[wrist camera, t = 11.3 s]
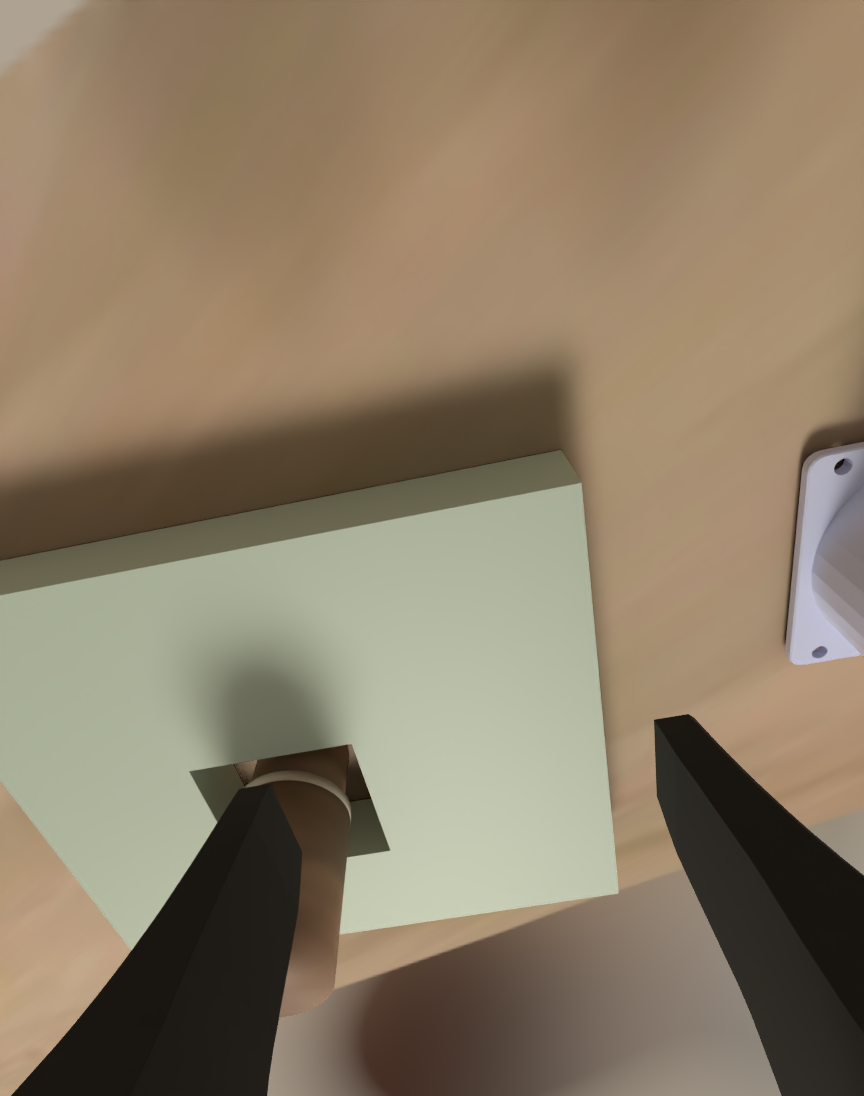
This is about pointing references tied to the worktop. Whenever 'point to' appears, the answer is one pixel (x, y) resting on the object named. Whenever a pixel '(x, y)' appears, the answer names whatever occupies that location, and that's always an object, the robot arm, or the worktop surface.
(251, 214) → the worktop surface
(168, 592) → the socket board
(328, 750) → the walnut leg
